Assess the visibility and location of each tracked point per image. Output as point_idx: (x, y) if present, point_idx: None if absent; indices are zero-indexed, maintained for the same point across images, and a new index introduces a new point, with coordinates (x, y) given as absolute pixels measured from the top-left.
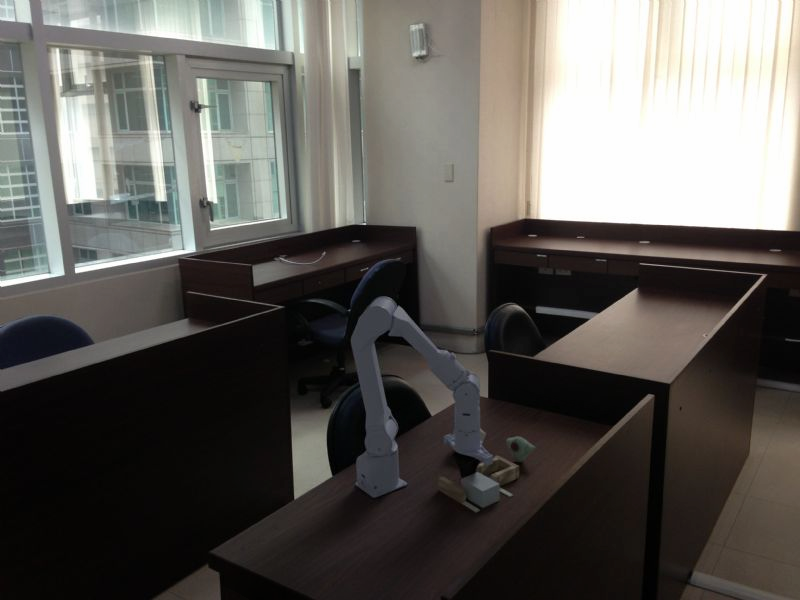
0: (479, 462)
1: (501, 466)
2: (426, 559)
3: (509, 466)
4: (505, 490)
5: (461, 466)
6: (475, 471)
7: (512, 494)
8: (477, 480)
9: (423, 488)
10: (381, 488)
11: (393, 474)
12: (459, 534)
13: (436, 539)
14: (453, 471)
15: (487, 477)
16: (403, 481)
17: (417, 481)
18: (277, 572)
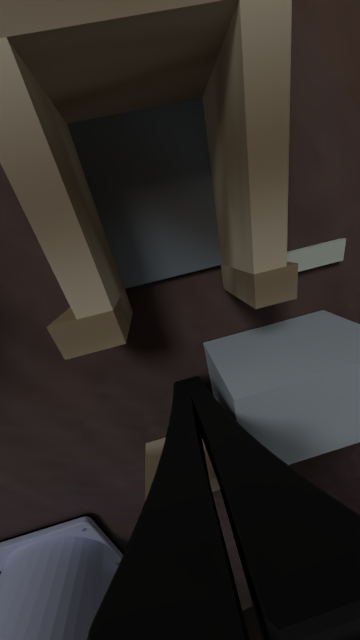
0: (305, 482)
1: (86, 89)
2: (356, 501)
3: (195, 30)
4: (299, 250)
5: (223, 537)
6: (231, 416)
7: (344, 239)
8: (305, 427)
9: (122, 482)
10: (105, 571)
11: (87, 617)
12: (351, 452)
13: (329, 485)
14: (15, 379)
15: (319, 374)
16: (70, 529)
17: (69, 490)
18: (249, 603)
